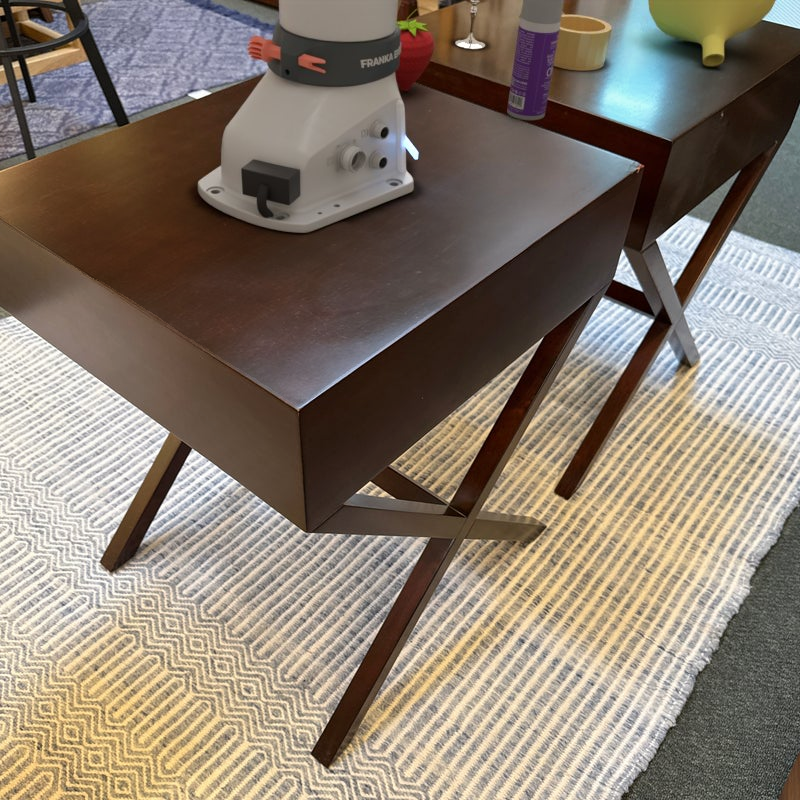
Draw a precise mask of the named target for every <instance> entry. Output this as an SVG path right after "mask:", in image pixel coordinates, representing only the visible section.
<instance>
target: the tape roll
mask: <svg viewBox="0 0 800 800" xmlns="http://www.w3.org/2000/svg"><path fill="white" fill-rule="evenodd" d="M612 29H613V27H612V25H611V24H610V23H608V22H607V21H605V20H603V19H600V18H596V17H593V16H588V15H581V14H565V15H562V16H561V22H560V30H559V36H558V41H557V47H556V53H555V59H554V64H553V67H555V68H559V69H563V70H570V71H579V72H580V71H581V72H584V71H586V72H588V71H595V70H596V71H597V70H599V69H601V68H603V67H604V66H605V62H606V57H607V54H608V53H607V52H608V49H609V44H610V37H611V34H612Z"/></svg>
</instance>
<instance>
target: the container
mask: <svg viewBox="0 0 800 800" xmlns="http://www.w3.org/2000/svg"><path fill="white" fill-rule="evenodd" d="M563 8H564V0H523V1H522V6H521V11H520V14H521V17H520V18H519V24H518V30H517V37H516V44H515V50H514V58H513V66H512V72H511V80H510V87H509V95H508V101H507V109H506V112H507V114H508V115H509V116H511V117H513V118H516V119H517V120H525V121H537V120H541V119H543V118H544V117H545V115H546V112H547V111H546V110H547V105H548V99H549V93H550V87H551V82H552V76H553V69H554V66H553V64H554V59H555V53H556V47H557V41H558V36H559V30H560V22H561V16H562V11H563Z"/></svg>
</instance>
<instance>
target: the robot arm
mask: <svg viewBox="0 0 800 800" xmlns="http://www.w3.org/2000/svg"><path fill="white" fill-rule="evenodd" d="M397 10H398V0H278V15H279V16H278V17H279V18H278V19H277V21H276V22H275V25H274V29H273V33H272V37H271V39H266V38H264V37H262V36H259V35H252V36H251V38H249V42H248V43H247V51H248V52H247V54H248V56H249V58H251V59H253V60H258V61H260V60H261V61H263V62H264V63H266V64H267V67H268V68H267V71H266V72H265V73H264V75H263V77H262V78H261V79H260V81H258V83H257V85H256V86H255V87H254V88H253V90H252V91H251V93H250V94H249V95H248V97H247V98H246V100H245V101H244V102H243V103H244V104H243V103H242V104H243V105H242V104H241V106H242V107H241V106H240V107H239V109H238V111H237V112H236V113H235V115H234V116H233V117H232V118H231V120H230V121H229V122H228V124H227V125H226V126H225V128H224V131H223V135H222V139H221V147H220V165H219V166H218V167H216V168H215V169H213V170H212V171H211V172H209V173H208V174H206V175H204V176H203V177H202V178H201V179H199V180H198V181H197V192H198V195H199V196H200V198H202V199H203V201H204V202H206V203H207V204H208V205H210V206H211V207H213V208H215V209H216V210H218V211H220V212H222V213H224V214H226V215H228V216H231V217H234V218H236V219H238V220H240V221H243V222H246V223H249V224H252V225H255V226H259V227H263V228H266V229H270V230H275V231H279V232H280V231H281V232H287V233H295V234H297V233H298V234H305V233H311V232H314V231H316V230H319V229H321V228H323V227H326V226H329V225H331V224H334V223H338V222H339V221H341V220H344V219H347V218H349V217H351V216H354V215H358V214H359V213H362V212H364V211H367V210H370V209H372V208H375V207H377V206H379V205H382V204H385V203H387V202H390V201H391V200H392V201H393V200H395V199H397V198H399V197H403V196H405V195H408V194H410V193H412V192H413V191H414V190H415V185H414V184H415V183H414V177H413V176H412V175H411V173H409V172H408V170H407V151H408V152H409V154H410V155H411V156H412V157H413V159H414V160H418V159H419V151H418V150H417V148H416V147H415V146H414V145H413V143H412V142H411V140H410V139H409V138H408V137H407V134H406V109H405V103H404V101H403V98H402V96H401V92H400V90H399V89H400V88H399V85H398V84H397V82H396V76H395V71H396V70H397V69H398V68H399V61H400V53H401V42H400V32H401V31H400V28H399V25H397V22H398V13H397ZM398 11H399V10H398Z"/></svg>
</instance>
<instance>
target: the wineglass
mask: <svg viewBox="0 0 800 800" xmlns="http://www.w3.org/2000/svg"><path fill="white" fill-rule="evenodd" d="M464 1H465V2H467V3H469V4H471V5H472V6H471V7H470V11H469V13H470V14H469V15H470V29H469V34H468V36H467V37H466V38H460V39H457V40H456V41H455V43H454V44H455V46H457V47H460V48H461V49H466V50H480V49H481V50H482V49H484V48H485V47H486V43H485V42H483V41H481V40H478V39H476V38H475V37H474V27H475V21H476V17H477V15H478V7H477V5H481V4H485V3H487V2H489V0H464Z"/></svg>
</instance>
